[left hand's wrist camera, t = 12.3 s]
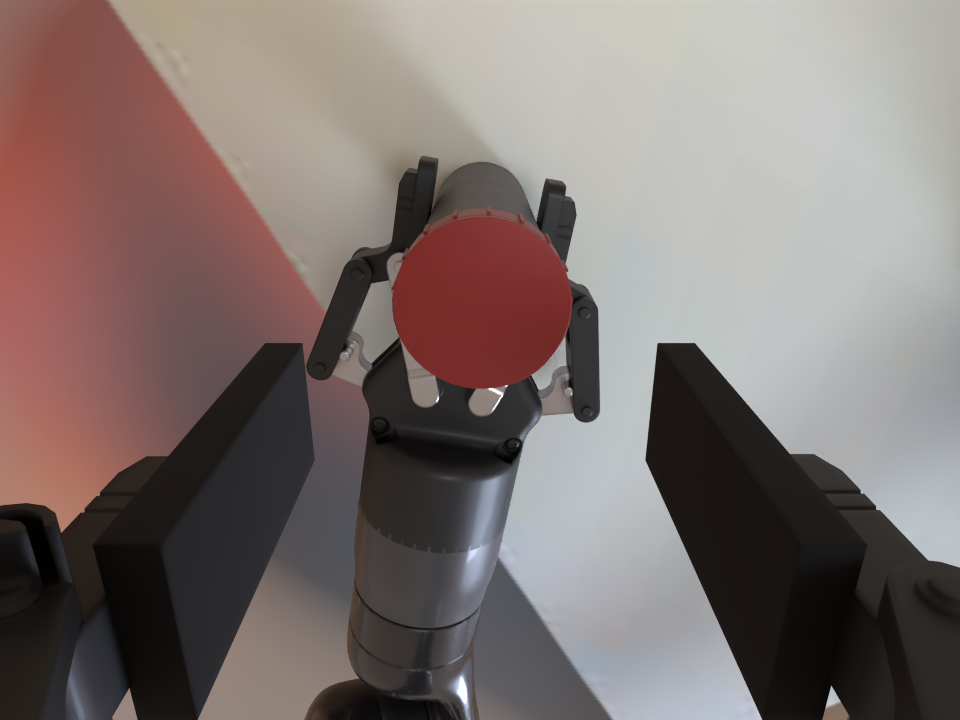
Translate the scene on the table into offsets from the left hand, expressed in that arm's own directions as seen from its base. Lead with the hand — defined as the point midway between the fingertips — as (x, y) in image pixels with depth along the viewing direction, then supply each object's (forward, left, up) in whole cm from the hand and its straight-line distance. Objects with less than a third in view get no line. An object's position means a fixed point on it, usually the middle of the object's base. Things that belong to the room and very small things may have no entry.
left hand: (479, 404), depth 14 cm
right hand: (-1, +3, -16) cm, 16 cm away
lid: (0, 0, -6) cm, 6 cm away
